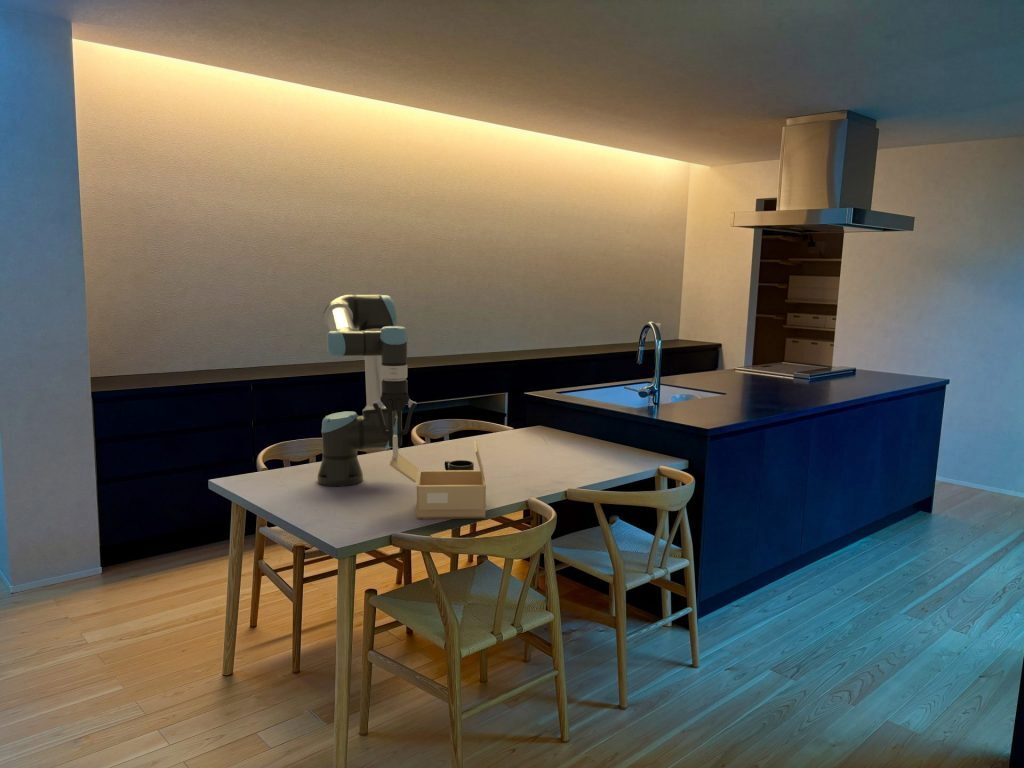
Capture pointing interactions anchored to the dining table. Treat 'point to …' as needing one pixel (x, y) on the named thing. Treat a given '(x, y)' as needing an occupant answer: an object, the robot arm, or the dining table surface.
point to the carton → (450, 494)
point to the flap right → (479, 460)
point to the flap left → (405, 467)
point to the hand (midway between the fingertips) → (395, 457)
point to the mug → (459, 465)
